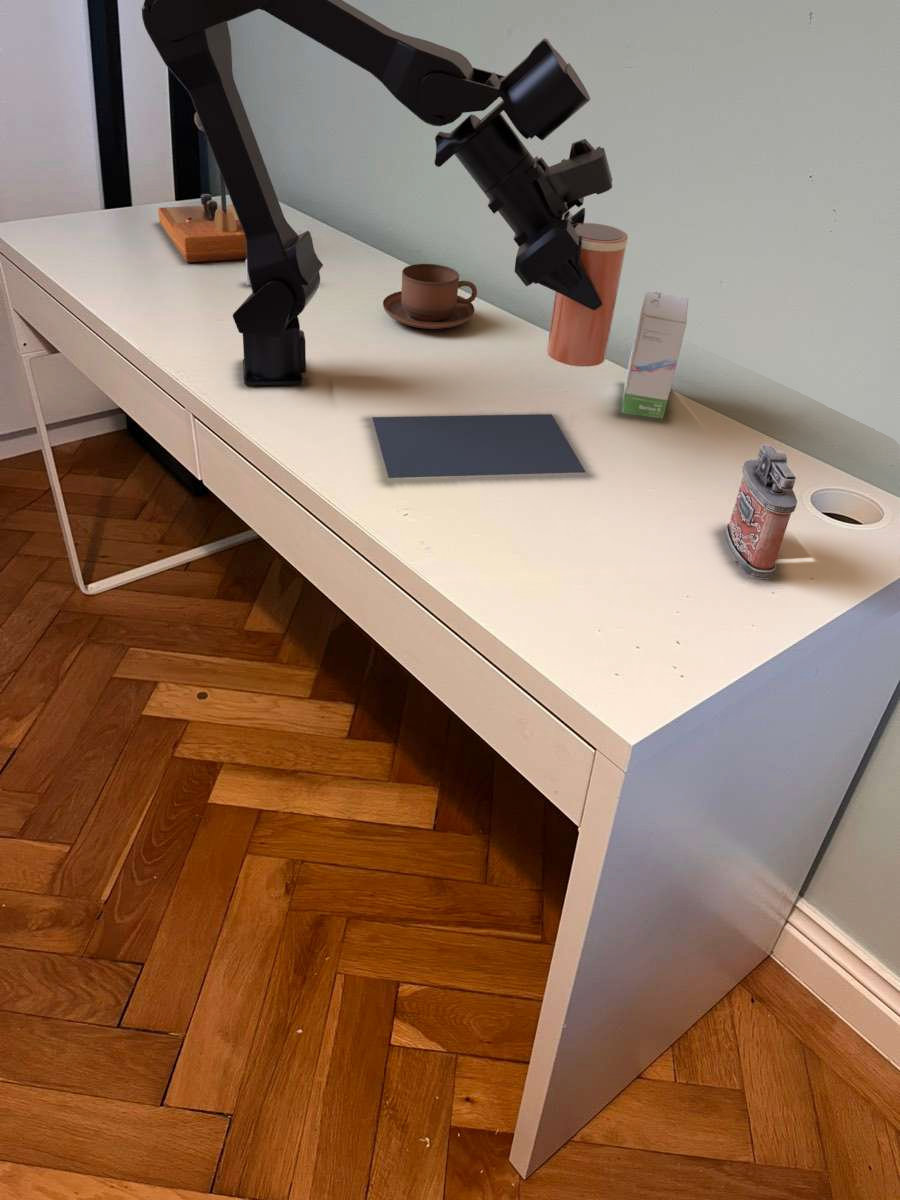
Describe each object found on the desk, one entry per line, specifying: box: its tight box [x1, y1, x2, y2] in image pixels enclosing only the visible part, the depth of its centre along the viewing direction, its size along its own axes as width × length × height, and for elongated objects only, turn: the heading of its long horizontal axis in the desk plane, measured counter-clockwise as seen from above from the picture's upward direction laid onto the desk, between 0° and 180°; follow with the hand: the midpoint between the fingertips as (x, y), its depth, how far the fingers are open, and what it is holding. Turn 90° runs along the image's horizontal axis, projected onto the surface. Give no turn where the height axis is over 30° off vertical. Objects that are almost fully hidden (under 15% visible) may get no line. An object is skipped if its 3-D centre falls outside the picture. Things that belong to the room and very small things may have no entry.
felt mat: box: [371, 413, 586, 479], centre depth 103 cm, size 20×13×1 cm, turn 101°
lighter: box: [724, 444, 798, 580], centre depth 87 cm, size 8×3×10 cm, turn 5°
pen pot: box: [546, 222, 629, 368], centre depth 104 cm, size 6×6×13 cm
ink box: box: [621, 290, 689, 419], centre depth 111 cm, size 9×5×12 cm, turn 168°
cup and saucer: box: [382, 263, 478, 330], centre depth 129 cm, size 12×12×6 cm
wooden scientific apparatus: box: [157, 112, 251, 287], centre depth 142 cm, size 14×30×18 cm, turn 24°
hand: (599, 296), depth 103 cm, fingers closed on pen pot, 6 cm apart
